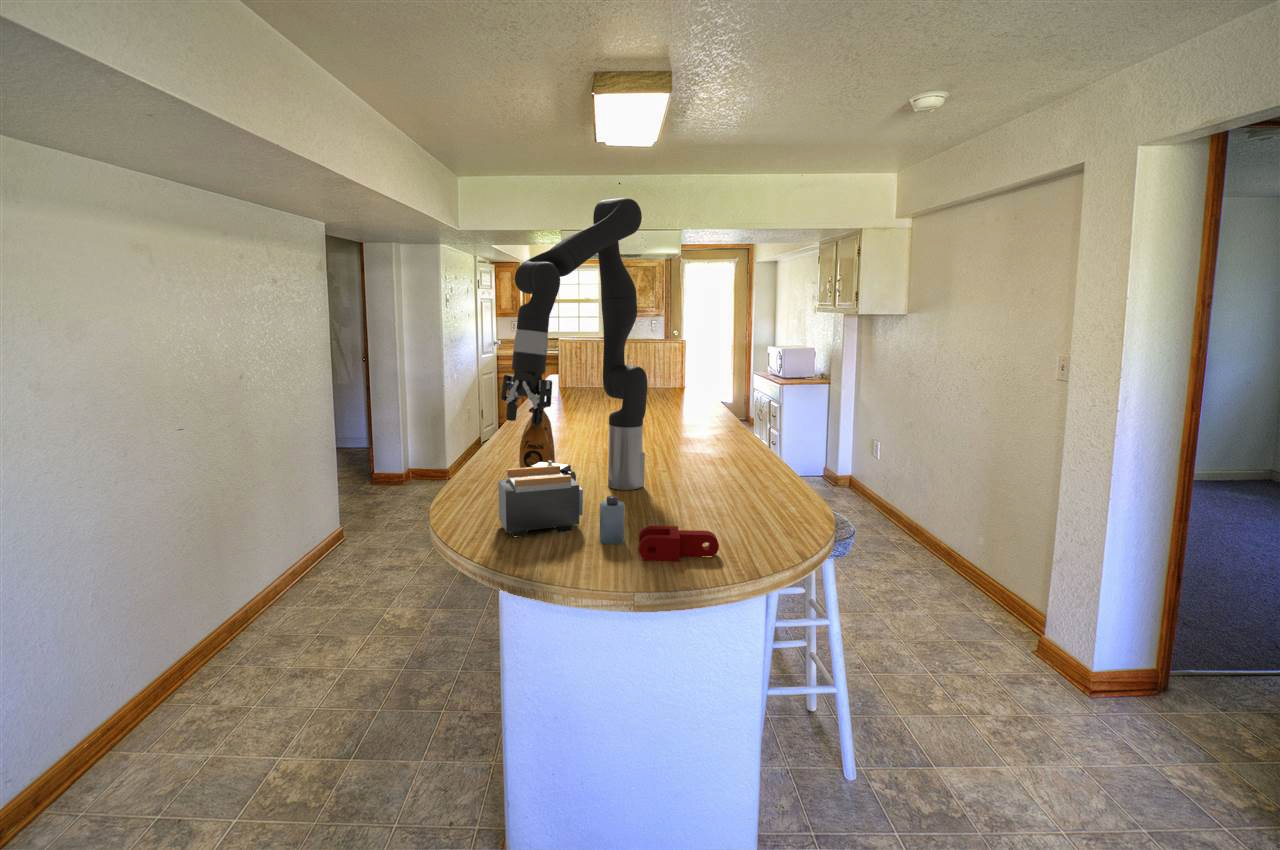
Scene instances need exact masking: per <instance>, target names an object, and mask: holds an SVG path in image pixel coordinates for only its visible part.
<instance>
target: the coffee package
mask: <svg viewBox="0 0 1280 850" xmlns="http://www.w3.org/2000/svg"><path fill="white" fill-rule="evenodd" d="M537 402H538V401H537ZM533 409H535V408H534V407H533V406H531V407H530V408H529V409H528V413H531V414H533ZM551 423H552V422H551V419H550V418H549V416H548V414H547V413H546V412H545V408H544V409H543V417H542V423H541V425H540V426H535V425H532V415H531V416H530V418H529V420H528V421H527V422H526V425H525V427H524V430H523V433H522V436H521V440H520V445H519V456H518V457H519V459H518V460H519V461H518V462H519V468H528V467H529V466H530V465H532V464H534V463H536V462H545V463H548V461H552V463H554V464H556V459H555V458H556V457H555V444H554V436H553V429H552V424H551Z"/></svg>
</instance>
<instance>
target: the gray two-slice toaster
mask: <svg viewBox="0 0 1280 850" xmlns="http://www.w3.org/2000/svg"><path fill="white" fill-rule="evenodd" d="M497 483H498V485H497V486H498V487H497V488H498V520H499V521H500V523H501V525H502V528H503V529H504V531H505V532H506V533H510V532H511V533H510V534H512V535H513V536H512V535H511V536H512V538H515V537H514V536H522V537H527V536H528V531H532V530H540V529H549V528H550V529H551V528H555V529H556V531H557V532H558V533H565V532H572V531H573V526H576V525H580V516H583V514H584V513H583V509H584V508H583V507H584V506H583V505H584V503H583V502H584V501H583V499H584V495H583V493H584V491H583V490H584V489H583V488H582V487H581V486H580V484H579V483H578V482H577V481H575V480H573V479H572V478H571V475H563V474H562V473H561V472H560V465H555V466H541V467H528V468H520V467H518V468H516V467H515V468H506V479H500V480H499V479H498V481H497Z"/></svg>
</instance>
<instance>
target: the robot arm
mask: <svg viewBox="0 0 1280 850" xmlns="http://www.w3.org/2000/svg"><path fill="white" fill-rule="evenodd" d="M641 210H642V209H641V208H640V205H639V204H638V202H636V201H635V200H634V199H632V198H629V197H619V198H618V197H617V198H609V199H602V200H600V201H598V202H597V204H596V205H595V207H594V211H593V216H592V217H593V218H592V219H593V220H592V221H593V223H592V225H591V226H588V227H586V228H584V229H581V230H579V231H577V232H573V233H572V234H570V235H568V236H567V237H565V238H563V239H562V240H561V241H559V242H558V243H556V244H555V245H554V246H552V247H551V248H550V249H548V250H547V251H545V252H542V253H540V254H537V255H535V256H533V257H530V258H529V259H526V260H525V261H524V262H522V263H521V264H520V265H519V266H518V267H517V269H516V270H515V274H514V283H515V286H516V288H517V289H518V290H519V291H520V292H521V293H524V294H527V295H531V297H530V299H529V301H528V302H526V303H524V304H522V305H520V306H519V309H518V313H517V319H516V320H517V321H516V330H515V335H514V341H513V349H512V351H513V352H512V361H511V362H512V363H511V371H513V372H514V373H513V375H512V374H504V376H503V381H502V386H501V387H502V388H501V396H500V398H501V400H502V401H505V403H506V404H507V405H506V415H505V416H506V421H509V422H514V421H516V419H517V411H518V402H519V400H521V399H522V398H523V397H526V398H528V400H529V401H531V404H532V407H534V408H535V409H533V413H531V414H532V415H531V416H532V425H535V426H540V425H541V423H542V417H543V409H544V410H545V408H550V407H551V405H552V394H553V381H552V380H551V379H543V375H544V374H545V373H546V370H547V369H546V366H547V360H548V359H547V358H548V348H549V336H548V335H549V325H550V316H551V313H552V310H553V307H554V305H555V303H556V300H557V296H558V294H559V291H560V286H561V277H566V276H568V275H570V274H571V273H573V272H574V271H575V270H576V269H578V268H579V267H580V266H581V265H583V264H584V263H585V262H587V261H588V260H589V259H591V258H592V257H594V256H595V255H597V257H598V266H599V267H598V268H599V277H600V301H601V315H602V327H603V328H602V329H603V362H602V364H603V366H602V385H603V390H604V392H605V394H606V395H607V396H608V397H610V398H612V399H618V400H619V399H620V400H622V405H621V408H620V409H619V410H617V411H616V410H615V411H614V412H611V413H610V414H609V416H608V457H607V458H608V461H607V463H608V464H607V465H608V466H607V467H608V468H607V475H608V476H607V486H608V487H609V488H610V489H613V490H619V491H633V490H637V489H640V488H644V487H645V472H646V470H645V464H646V462H645V461H646V453H645V452H643V441H644V440H643V434H644V433H643V431H644V429H643V428H644V418H645V416H646V413H647V412H646V410H647V399H648V398H647V397H648V396H647V395H648V376H647V374H646V371H645V369H643V368H642V367H641V366H637V365H629V364H626V363H625V348H626V347H625V346H626V343H627V341H628V337H629V335H630V333H631V331H632V330H633V327H634V324H635V322H636V319H637V316H638V299H637V297H638V296H637V289H636V286H635V283H634V281H633V278H632V276H631V275H630V272H628V270H627V268H626V266H625V264H624V261H623V260H622V257H621V252H620V245H619V244H620V243H619V241H621V240H623V239H625V238H628V237H629V236H631V235H634V234H635V233H636V232H637V231H638V230H639V229H640V227H641V225H642V224H641V223H642V220H643V219H642V217H643V216H642V211H641ZM507 393H508V394H507ZM537 401H538V402H537Z"/></svg>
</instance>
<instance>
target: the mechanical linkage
mask: <svg viewBox="0 0 1280 850" xmlns="http://www.w3.org/2000/svg"><path fill="white" fill-rule="evenodd" d="M705 543H708V545H706V546H703V545H704V544H705ZM638 544H639V545H638V553H639V556H640V557H641V558H642V560H644V561H645V562H668V563H669V562H671V563H672V562H676V563H677V562H680V558H703V557H702V556H713V557H715V556H716V554H718V552H719V549H720V545H719V541H718V538H717V536H716V535H715V534H714V533H713V532H711V531H709V530H691V529H688V530H687V529H685V530H684V529H682V530H681V529H679V526H676V525H647V526H645V527H644V528H642V529H641V530H640V532H639V534H638Z"/></svg>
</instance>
